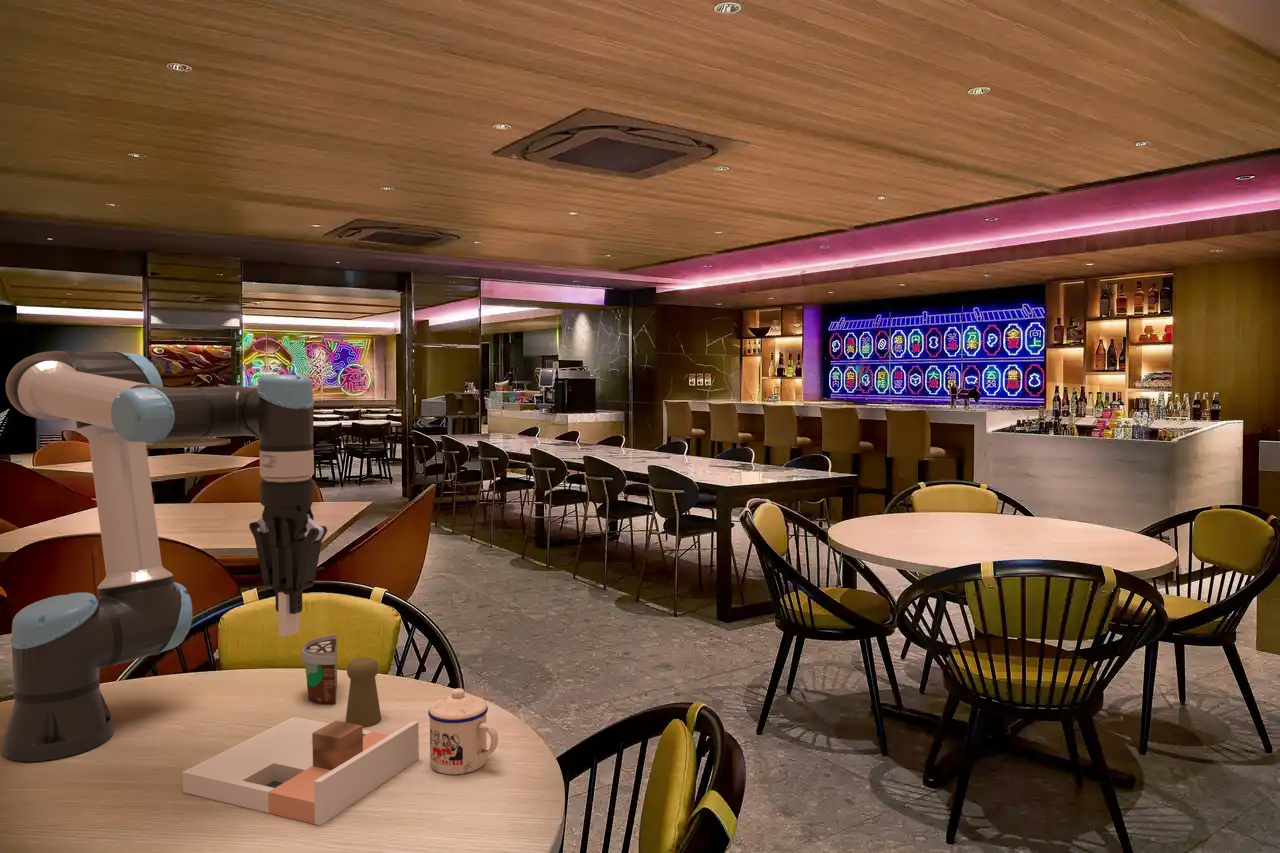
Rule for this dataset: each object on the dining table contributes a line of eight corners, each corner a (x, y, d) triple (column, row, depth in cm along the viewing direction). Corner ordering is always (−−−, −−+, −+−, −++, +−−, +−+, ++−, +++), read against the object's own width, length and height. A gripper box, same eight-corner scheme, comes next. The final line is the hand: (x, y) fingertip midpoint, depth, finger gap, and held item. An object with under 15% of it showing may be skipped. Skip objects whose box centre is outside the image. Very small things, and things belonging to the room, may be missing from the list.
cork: (370, 729, 150) (369, 666, 149) (338, 726, 151) (337, 663, 150) (387, 715, 156) (386, 654, 155) (356, 712, 157) (355, 652, 156)
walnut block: (312, 766, 129) (312, 733, 129) (336, 752, 134) (335, 720, 133) (340, 772, 127) (339, 738, 127) (363, 758, 132) (362, 725, 132)
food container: (303, 687, 169) (302, 636, 169) (337, 684, 171) (336, 633, 171) (299, 711, 158) (298, 656, 157) (335, 707, 160) (334, 653, 159)
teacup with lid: (416, 768, 135) (415, 694, 135) (455, 746, 143) (454, 676, 143) (477, 786, 130) (477, 708, 129) (514, 762, 138) (514, 689, 137)
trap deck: (182, 792, 127) (181, 751, 127) (294, 734, 148) (293, 699, 147) (320, 825, 118) (319, 782, 118) (418, 759, 139) (418, 721, 138)
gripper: (233, 478, 130) (236, 635, 131) (303, 483, 125) (305, 646, 127) (272, 473, 137) (274, 622, 138) (339, 477, 132) (341, 632, 134)
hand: (289, 633), depth 133 cm, fingers closed
